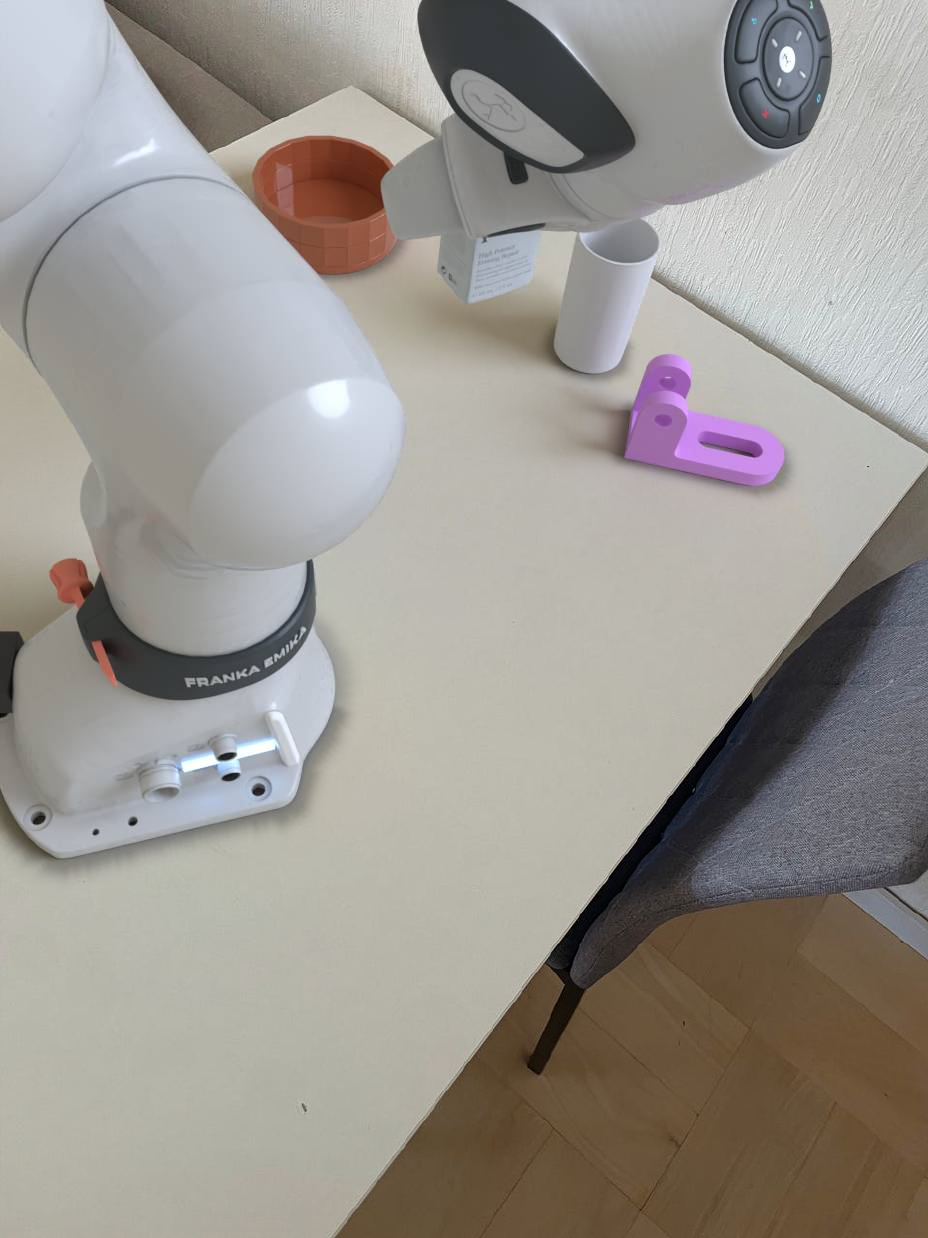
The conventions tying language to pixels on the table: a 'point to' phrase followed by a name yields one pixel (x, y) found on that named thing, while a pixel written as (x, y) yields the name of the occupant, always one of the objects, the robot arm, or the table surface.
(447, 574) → the table surface
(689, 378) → the bracket
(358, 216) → the bowl
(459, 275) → the cosmetic box
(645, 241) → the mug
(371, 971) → the table surface
